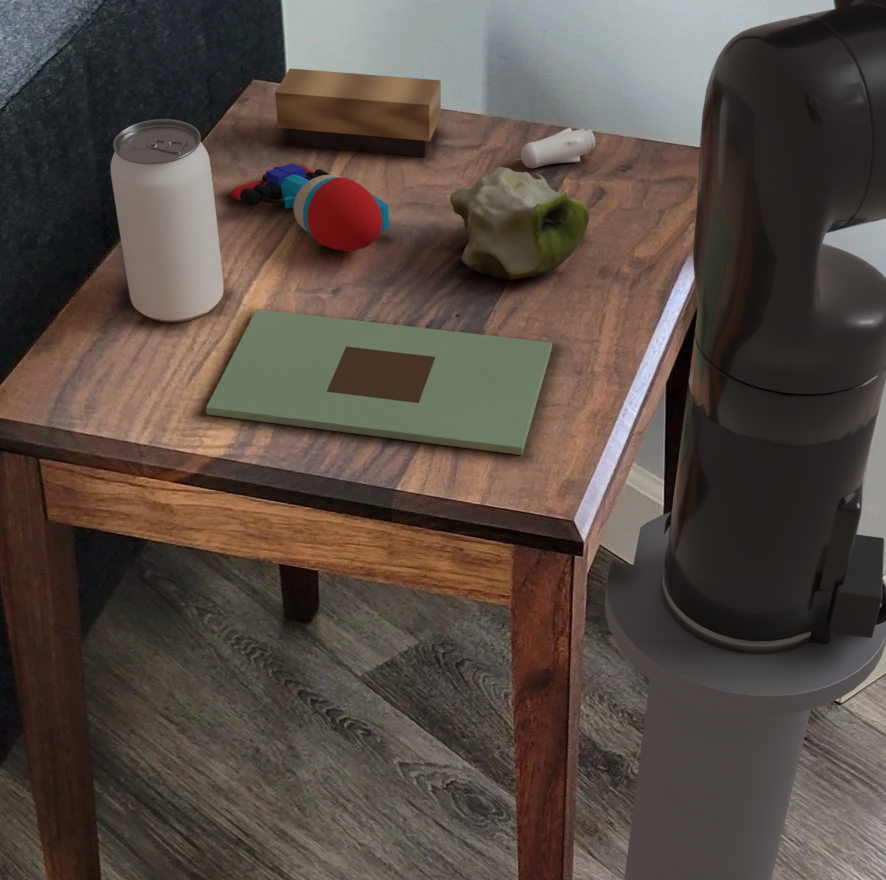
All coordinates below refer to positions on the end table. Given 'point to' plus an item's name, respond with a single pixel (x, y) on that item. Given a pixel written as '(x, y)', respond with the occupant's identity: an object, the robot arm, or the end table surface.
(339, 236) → the toy figure
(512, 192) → the fruit
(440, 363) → the mat
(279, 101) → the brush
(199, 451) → the end table surface
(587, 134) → the small white plastic part
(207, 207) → the can
